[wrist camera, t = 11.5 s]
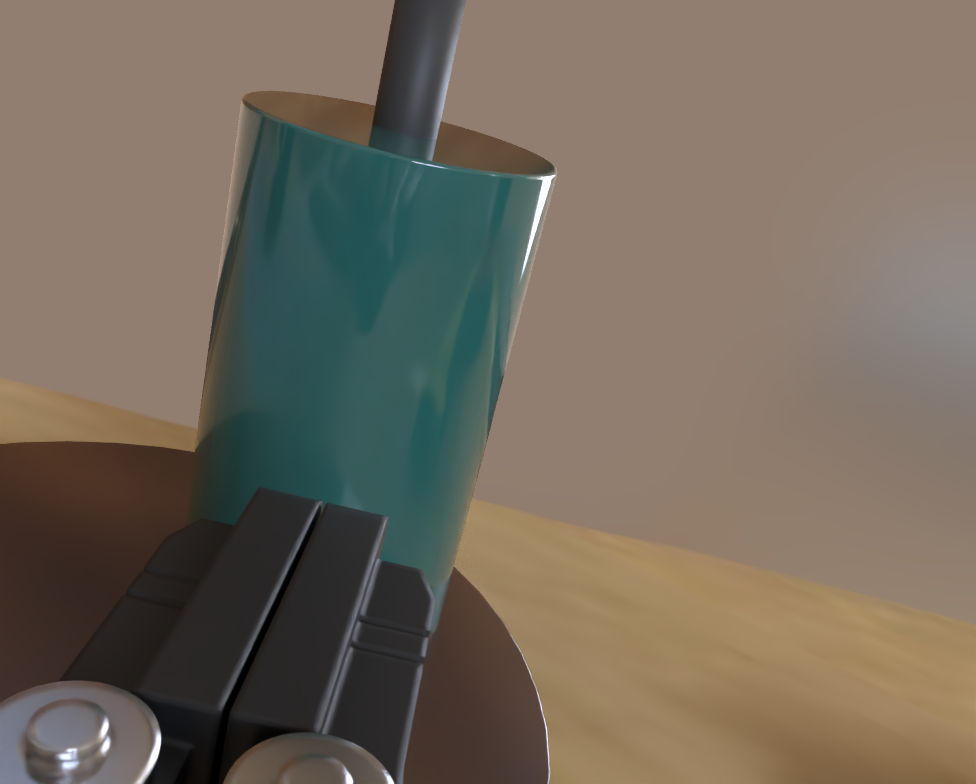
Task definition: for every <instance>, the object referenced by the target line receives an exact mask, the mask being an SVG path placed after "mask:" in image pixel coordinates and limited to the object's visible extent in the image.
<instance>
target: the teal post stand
mask: <svg viewBox="0 0 976 784" xmlns="http://www.w3.org/2000/svg"><path fill="white" fill-rule="evenodd" d="M465 3H466V0H395V4H394V9H393V14H392V20H391V25H390V31H389V36H388V42H387V47H386V52H385V57H384V63H383V68H382V74H381V79H380V85H379V90H378V95H377V101H376V106H374V105H369V104H363V103H358V102H353V101H348V100H343V99H337V98H331V97H325V96H318V95H310V94H302V93H293V92H280V91H260V92H252V93H249V94H246V95H245V96H244V97H243V99H242V102H241V109H240V117H239V125H238V132H237V139H236V147H235V154H234V162H233V169H232V177H231V185H230V192H229V199H228V207H227V215H226V222H225V229H224V237H223V244H222V252H221V259H220V266H219V274H218V281H217V289H216V296H215V304H214V311H213V320H212V326H211V334H210V341H209V349H208V357H207V364H206V371H205V379H204V386H203V394H202V401H201V409H200V416H199V424H198V431H197V438H196V446H195V452H190V451H183V450H177V449H170V448H163V447H154V446H143V445H132V444H121V443H101V442H71V441H65V442H24V443H9V444H0V703H1V702H2V701H4V700H5V699H7V698H9V697H11V696H13V695H15V694H17V693H19V692H22V691H24V690H27V689H30V688H33V687H36V686H40V685H44V684H48V683H54V682H58V681H59V680H60V678H61V677H62V676H63V674H64V673H65V671H66V670H67V669H68V667H69V666H70V665H71V663H72V662H73V661H74V659H75V658H76V657H77V655H78V654H79V653H80V651H81V650H82V649H83V647H84V646H85V645H86V643H87V642H88V641H89V639H90V638H91V637H92V635H93V634H94V633H95V631H96V630H97V629H98V627H99V626H100V625H101V623H102V622H103V621H104V619H105V618H106V617H107V615H108V614H109V613H110V611H111V610H112V608H113V607H114V606H115V604H116V603H117V602H118V600H119V599H120V598H121V596H122V595H125V594H126V592H127V588H128V587H129V586H130V584H131V583H132V582H133V580H134V579H135V578H136V576H137V575H138V574H139V572H140V571H143V570H144V567H145V564H146V563H147V562H148V560H149V559H150V558H151V556H152V555H153V554H154V552H155V551H156V550H157V548H158V547H159V546H160V544H161V543H162V541H163V540H164V539H165V537H167V536H169V535H171V534H173V533H174V532H176V531H178V530H180V529H182V528H184V527H186V526H188V525H189V524H191V523H193V522H195V521H197V520H199V519H201V518H205V519H209V520H213V521H217V522H221V523H226V524H230V525H234V526H235V524H236V523H237V521H238V519H239V518H240V516H241V515H242V513H243V511H244V510H245V508H246V507H247V505H248V503H249V502H250V500H251V499H252V497H253V495H254V494H255V492H256V491H257V489H258V488H259V487H264V488H268V489H273V490H277V491H281V492H285V493H289V494H294V495H298V496H302V497H306V498H310V499H315V500H319V501H322V502H323V509H324V507H325V505H326V503H332V504H337V505H341V506H345V507H349V508H353V509H358V510H362V511H366V512H370V513H374V514H379V515H383V516H387V517H388V524H387V529H386V534H385V538H384V543H383V547H382V552H381V556H380V560H383V561H388V562H392V563H396V564H400V565H405V566H409V567H413V568H417V569H422V570H423V572H424V574H425V577H426V579H427V581H428V584H429V586H430V588H431V591H432V593H433V596H434V598H435V600H436V601H435V606H434V611H433V617H432V622H431V627H430V632H429V636H428V643H427V648H426V653H425V658H424V663H423V669H422V675H421V680H420V685H419V690H418V696H417V701H416V706H415V711H414V717H413V722H412V727H411V732H410V738H409V743H408V748H407V753H406V759H405V764H404V772H403V783H404V784H549V782H550V762H549V748H548V734H547V727H546V723H545V719H544V715H543V711H542V707H541V703H540V699H539V694H538V690H537V688H536V685H535V683H534V681H533V678H532V676H531V673H530V671H529V669H528V666H527V664H526V661H525V659H524V656H523V654H522V652H521V651H520V649H519V647H518V646H517V644H516V642H515V641H514V639H513V637H512V636H511V634H510V632H509V631H508V629H507V627H506V626H505V624H504V622H503V621H502V620H501V618H500V617H499V616H498V615H497V613H496V612H495V611H494V609H493V608H492V607H491V606H490V604H489V603H488V602H487V601H486V599H485V598H484V597H483V596H482V594H481V593H480V592H479V591H478V590H477V589H476V588H475V587H474V586H473V585H472V584H471V583H470V582H469V581H468V580H467V579H466V578H465V577H464V576H463V575H462V574H461V573H460V572H459V571H458V570H457V569H456V568H455V567H454V564H455V560H456V556H457V553H458V549H459V545H460V541H461V537H462V534H463V530H464V526H465V522H466V518H467V515H468V511H469V507H470V503H471V499H472V496H473V492H474V488H475V484H476V480H477V477H478V472H479V469H480V465H481V461H482V458H483V454H484V450H485V446H486V442H487V439H488V435H489V431H490V427H491V423H492V420H493V416H494V412H495V408H496V404H497V401H498V396H499V393H500V389H501V385H502V381H503V378H504V374H505V370H506V367H507V362H508V359H509V355H510V351H511V348H512V344H513V340H514V336H515V332H516V329H517V325H518V321H519V317H520V313H521V310H522V306H523V302H524V298H525V294H526V291H527V287H528V283H529V279H530V275H531V272H532V268H533V264H534V260H535V256H536V253H537V248H538V245H539V241H540V237H541V234H542V230H543V226H544V222H545V218H546V214H547V210H548V207H549V203H550V200H551V195H552V192H553V188H554V184H555V180H556V177H557V170H556V167H555V166H553V165H552V164H551V163H550V162H548V161H547V160H545V159H544V158H542V157H540V156H538V155H537V154H534V153H532V152H530V151H528V150H526V149H523V148H521V147H518V146H516V145H513V144H510V143H508V142H505V141H502V140H500V139H497V138H494V137H491V136H488V135H485V134H482V133H478V132H475V131H472V130H469V129H465V128H462V127H458V126H455V125H452V124H448V123H444V122H441V116H442V112H443V106H444V102H445V98H446V93H447V88H448V83H449V79H450V74H451V69H452V65H453V60H454V55H455V50H456V46H457V40H458V36H459V32H460V26H461V22H462V17H463V13H464V8H465Z"/></svg>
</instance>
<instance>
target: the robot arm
mask: <svg viewBox="0 0 976 784" xmlns="http://www.w3.org/2000/svg"><path fill="white" fill-rule="evenodd" d="M387 524H388V517H387V516H383V515H379V514H374V513H370V512H366V511H362V510H358V509H353V508H349V507H345V506H341V505H337V504H332V503H326V505H325V507H324V509H323V502H322V501H319V500H315V499H310V498H306V497H302V496H298V495H294V494H289V493H285V492H281V491H277V490H273V489H268V488H264V487H259V488H258V489H257V491H256V492H255V494H254V495H253V497H252V499H251V500H250V502H249V503H248V505H247V507H246V508H245V510H244V511H243V513H242V515H241V516H240V518H239V519H238V521H237V523H236V524H235V526H234V525H230V524H226V523H221V522H217V521H213V520H209V519H205V518H201V519H199V520H197V521H195V522H193V523H191V524H189V525H188V526H186V527H184V528H182V529H180V530H178V531H176V532H174V533H173V534H171V535H169V536H167V537H165V539H164V540H163V541H162V543H161V544H160V546H159V547H158V548H157V550H156V551H155V552H154V554H153V555H152V556H151V558H150V559H149V560H148V562H147V563H146V564H145V567H144V570H143V571H140V572H139V574H138V575H137V576H136V578H135V579H134V580H133V582H132V583H131V584H130V586H129V587H128V588H127V592H126V594H125V595H122V596H121V598H120V599H119V600H118V602H117V603H116V604H115V606H114V607H113V608H112V610H111V611H110V613H109V614H108V615H107V617H106V618H105V619H104V621H103V622H102V623H101V625H100V626H99V627H98V629H97V630H96V631H95V633H94V634H93V635H92V637H91V638H90V639H89V641H88V642H87V643H86V645H85V646H84V647H83V649H82V650H81V651H80V653H79V654H78V655H77V657H76V658H75V659H74V661H73V662H72V663H71V665H70V666H69V667H68V669H67V670H66V671H65V673H64V674H63V676H62V677H61V678H60V680H59V681H58V682H54V683H48V684H44V685H40V686H36V687H33V688H30V689H27V690H24V691H22V692H19V693H17V694H15V695H13V696H11V697H9V698H7V699H5V700H4V701H2V702H1V703H0V784H404V783H403V772H404V764H405V759H406V753H407V748H408V743H409V738H410V732H411V727H412V722H413V717H414V711H415V706H416V701H417V696H418V690H419V685H420V680H421V675H422V669H423V663H424V658H425V653H426V648H427V643H428V636H429V632H430V627H431V622H432V617H433V611H434V606H435V601H436V600H435V598H434V596H433V593H432V591H431V588H430V586H429V584H428V581H427V579H426V577H425V574H424V572H423V570H422V569H417V568H413V567H409V566H405V565H400V564H396V563H392V562H388V561H383V560H380V556H381V552H382V547H383V543H384V538H385V534H386V529H387Z"/></svg>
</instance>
